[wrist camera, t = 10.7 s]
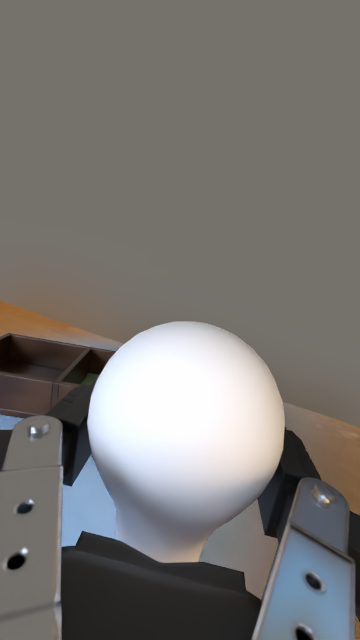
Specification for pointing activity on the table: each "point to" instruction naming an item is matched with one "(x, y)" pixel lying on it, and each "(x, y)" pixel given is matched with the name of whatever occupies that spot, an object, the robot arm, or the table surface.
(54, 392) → the compartment tray
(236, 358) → the lightbulb
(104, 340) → the table surface
